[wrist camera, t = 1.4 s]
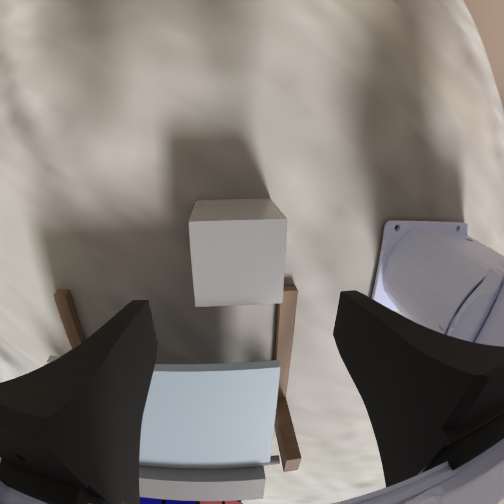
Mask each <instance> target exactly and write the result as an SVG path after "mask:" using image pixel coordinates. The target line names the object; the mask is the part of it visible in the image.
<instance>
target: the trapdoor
mask: <svg viewBox="0 0 504 504" xmlns="http://www.w3.org/2000/svg"><path fill="white" fill-rule="evenodd" d="M58 358H60V357H57V356H50V357H49V359H48V360H47V363H50V362H52V361H54V360H56V359H58ZM279 377H280V363H279V360H270V361H257V362H241V363H219V364H155V367H154V371H153V375H152V380H151V384H150V388H149V392H148V396H147V400H146V404H145V409H144V413H143V419H142V426H141V438H140V455H139V492H140V497H146V498H155V499H167V500H182V501H235V500H251V499H262V498H263V495H264V487H265V473H264V467H263V465H273V464H279V463H280V460H279V455H277V456H271V450H272V441H273V433H274V425H275V416H276V407H277V397H278V388H279Z"/></svg>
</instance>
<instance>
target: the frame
mask: <svg viewBox="0 0 504 504" xmlns="http://www.w3.org/2000/svg"><path fill="white" fill-rule="evenodd" d="M297 292H298V290H297V288H296V286H295V285H288V286H284V287H283V302H282V303H278V313H277V329H276V344H275V359H274V360H279V363H280V377H279V388H278V397H277V407H276V416H275V425H274V427H275V432H276V436H277V441H278V446H279V451H280V456H281V461H282V465H283V470H284V472H286V471H293V470H298V467H299V464H300V461H301V455H300V451H299V447H298V443H297V439H296V436H295V432H294V428H293V424H292V420H291V416H290V412H289V408H288V405H287V401H286V392H287V384H288V377H289V368H290V360H291V351H292V343H293V333H294V324H295V314H296V303H297ZM54 298H55V302H56V305H57V308H58V311H59V314H60V317H61V320H62V322H63V325H64V328H65V331H66V333H67V336H68V339H69V341H70V344H71V346H72V349H74V348H75V347H77V346H78V345H80V344H81V343H82V342H84V341H85V338H84V335H83V333H82V330H81V327H80V324H79V321H78V318H77V315H76V311H75V308H74V305H73V302H72V298H71V295H70V291H69V290H57V291H56V293H55V294H54Z"/></svg>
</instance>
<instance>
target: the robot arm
mask: <svg viewBox="0 0 504 504" xmlns="http://www.w3.org/2000/svg"><path fill="white" fill-rule="evenodd" d="M396 225H397V226H398V227H397V229H396V230H395V226H396ZM456 228H457V229H456ZM467 232H468V224H467V223H464V222H443V221H403V220H390V221H387V222H386V224H385V226H384V232H383V239H382V245H381V251H380V257H379V263H378V268H377V274H376V279H375V284H374V289H373V293H372V298H370V297H368V296H366V295H364V294H362V293H360V292H358V291H355V290H353V291H341V293H340V299H339V305H338V310H337V316H336V321H335V327H334V332H333V335H334V338H335V342H336V345H337V348H338V350H339V353H340V356H341V358H342V360H343V362H344V364H345V366H346V368H347V370H348V371H349V373H350V375H351V377H352V379H353V381H354V383H355V385H356V387H357V389H358V391H359V393H360V395H361V397H362V399H363V401H364V404H365V406H366V409H367V412H368V415H369V418H370V421H371V424H372V427H373V430H374V434H375V437H376V440H377V444H378V448H379V452H380V457H381V461H382V465H383V471H384V477H385V483H386V488H384V489H381V490H378V491H375V492H372V493H369V494H366V495H362V496H359V497H356V498H352V499H349V500H345V501H341V502H337V503H333V504H498V503H499V502H500V501H501V500H502V499H504V256H503V255H501V254H499V253H498V252H496V251H494V250H493V249H491V248H489V247H487V246H486V245H484V244H482V243H480V242H479V241H477V240H475V239H473V238H471V237H470V236H468V235H467ZM394 311H400V312H401V313H402V314H403V315H404V316H405V317H404V316H402V315H400V314H398V313H396V312H394ZM156 351H157V340H156V336H155V331H154V326H153V321H152V316H151V311H150V306H149V300H133V301H132V302H130V303H129V304H128V305H126V306H125V307H124V308H123V309H122V310H121V311H120V312H118V313H117V314H116V315H115V316H114V317H113V318H112V319H110V320H109V321H108V322H107V323H106V324H105V325H104V326H102V327H101V328H100V329H99V330H97V331H96V332H95V333H94V334H92V335H91V336H90V337H89V338H87V339H86V340H85V341H84V342H82V343H81V344H80V345H78V346H77V347H75V348H74V349H72V350H71V351H69V352H68V353H66V354H64V355H63V356H61V357H60V358H58V359H56V360H54V361H52V362H50V363H48V364H46V365H45V366H43V367H41V368H39V369H37V370H34V371H32V372H30V373H28V374H25V375H23V376H20V377H17V378H15V379H12V380H9V381H5V382H2V383H0V457H1V458H2V460H1V462H0V504H140V492H139V455H140V438H141V426H142V419H143V413H144V409H145V404H146V400H147V396H148V392H149V388H150V384H151V380H152V375H153V371H154V367H155V360H156Z"/></svg>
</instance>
